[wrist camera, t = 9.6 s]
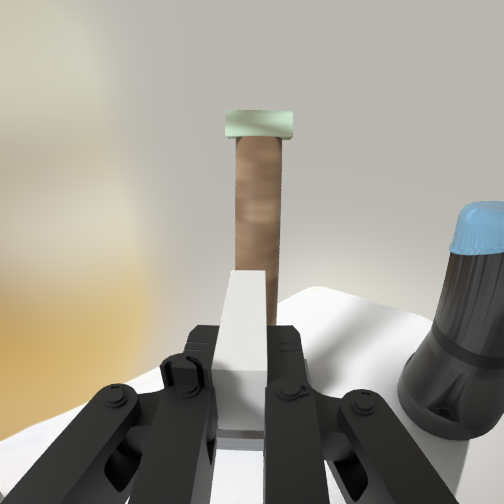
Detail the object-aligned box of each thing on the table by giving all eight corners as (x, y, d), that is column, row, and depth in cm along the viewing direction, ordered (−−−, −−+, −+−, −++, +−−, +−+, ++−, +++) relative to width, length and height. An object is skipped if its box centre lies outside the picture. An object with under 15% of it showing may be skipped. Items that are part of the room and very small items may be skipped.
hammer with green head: (278, 381, 32) (289, 117, 25) (279, 403, 29) (293, 110, 22) (231, 380, 32) (229, 116, 25) (228, 402, 29) (224, 109, 22)
